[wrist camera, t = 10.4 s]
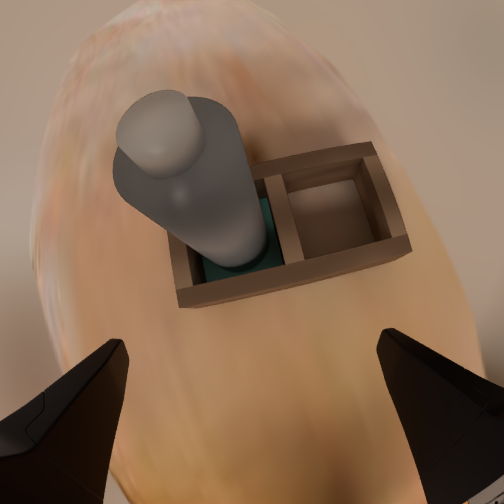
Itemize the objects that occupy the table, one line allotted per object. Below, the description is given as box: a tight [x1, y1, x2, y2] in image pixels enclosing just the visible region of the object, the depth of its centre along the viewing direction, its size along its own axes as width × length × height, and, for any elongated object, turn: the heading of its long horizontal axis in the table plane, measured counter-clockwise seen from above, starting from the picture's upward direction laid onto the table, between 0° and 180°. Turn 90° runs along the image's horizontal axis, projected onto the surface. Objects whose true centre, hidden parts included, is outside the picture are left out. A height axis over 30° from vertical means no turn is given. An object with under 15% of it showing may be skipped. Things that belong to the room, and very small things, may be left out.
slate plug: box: [113, 90, 269, 272], centre depth 14 cm, size 5×5×15 cm
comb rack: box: [167, 141, 412, 308], centre depth 20 cm, size 8×16×4 cm, turn 102°
